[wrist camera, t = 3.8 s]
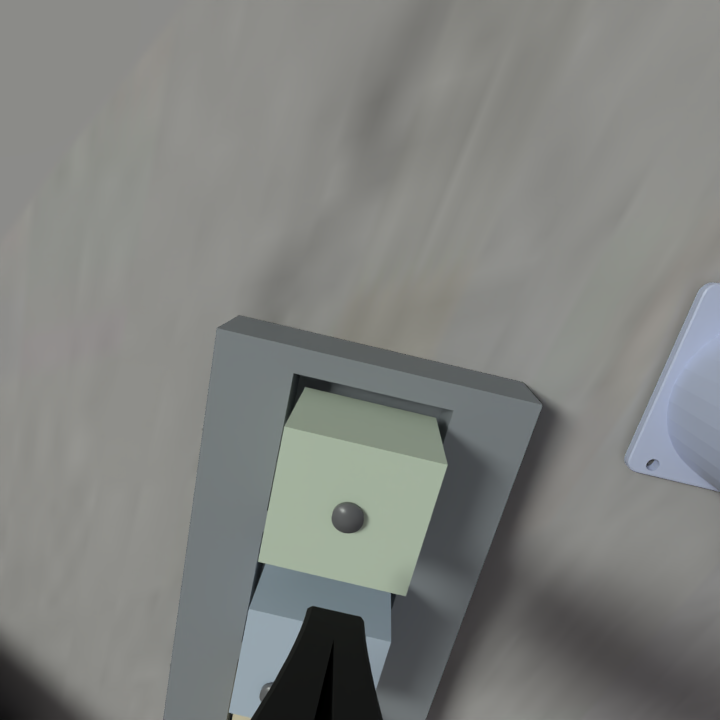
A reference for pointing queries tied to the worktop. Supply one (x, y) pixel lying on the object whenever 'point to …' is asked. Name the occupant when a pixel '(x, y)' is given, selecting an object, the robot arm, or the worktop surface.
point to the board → (255, 481)
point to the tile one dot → (353, 491)
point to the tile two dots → (284, 620)
